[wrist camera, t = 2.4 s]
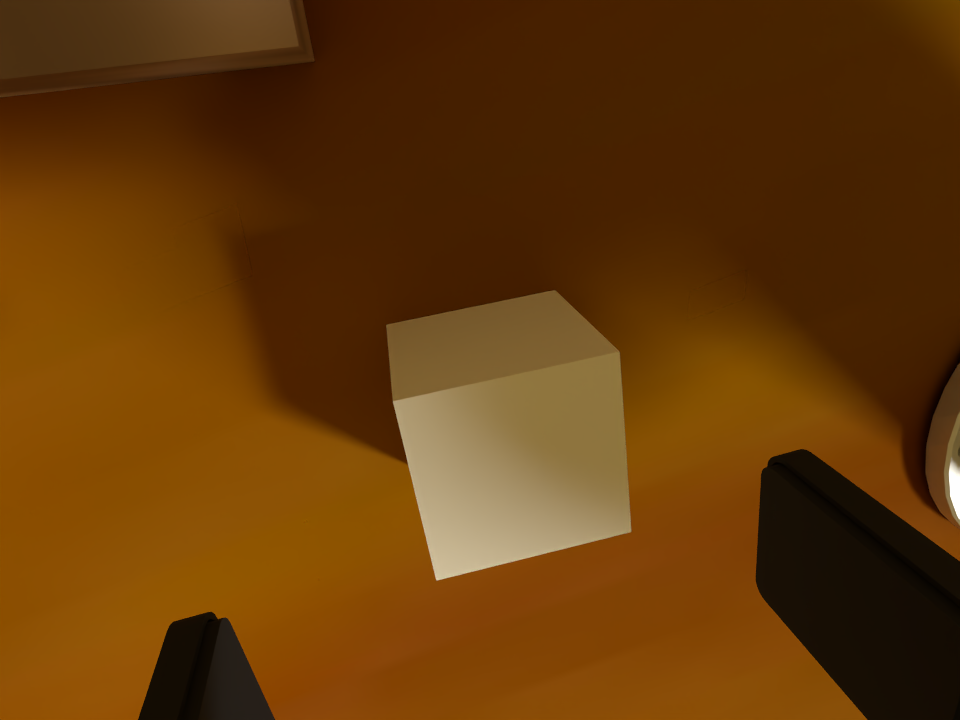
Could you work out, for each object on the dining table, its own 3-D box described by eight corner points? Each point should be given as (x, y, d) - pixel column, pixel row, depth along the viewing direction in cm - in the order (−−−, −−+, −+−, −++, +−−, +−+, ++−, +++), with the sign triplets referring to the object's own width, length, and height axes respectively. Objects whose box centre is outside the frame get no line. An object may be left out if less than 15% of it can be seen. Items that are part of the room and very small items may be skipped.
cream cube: (554, 289, 18) (619, 351, 13) (569, 433, 20) (631, 532, 15) (385, 323, 17) (392, 401, 12) (419, 468, 19) (436, 580, 14)
